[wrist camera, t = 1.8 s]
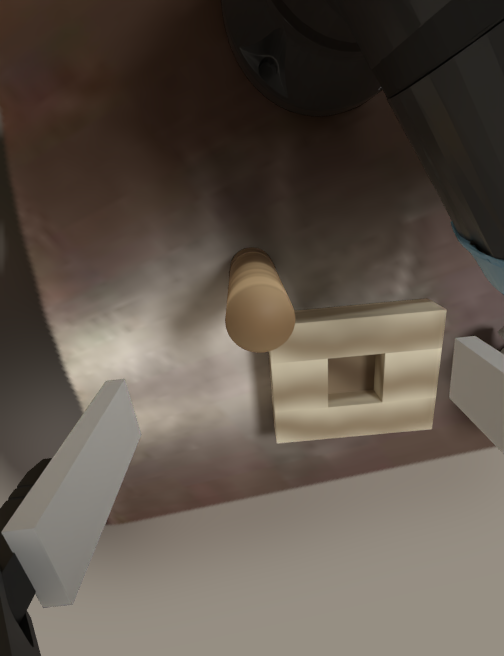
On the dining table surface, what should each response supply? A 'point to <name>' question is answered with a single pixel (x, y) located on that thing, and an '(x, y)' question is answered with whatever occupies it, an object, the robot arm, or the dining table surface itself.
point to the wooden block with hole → (357, 370)
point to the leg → (257, 303)
